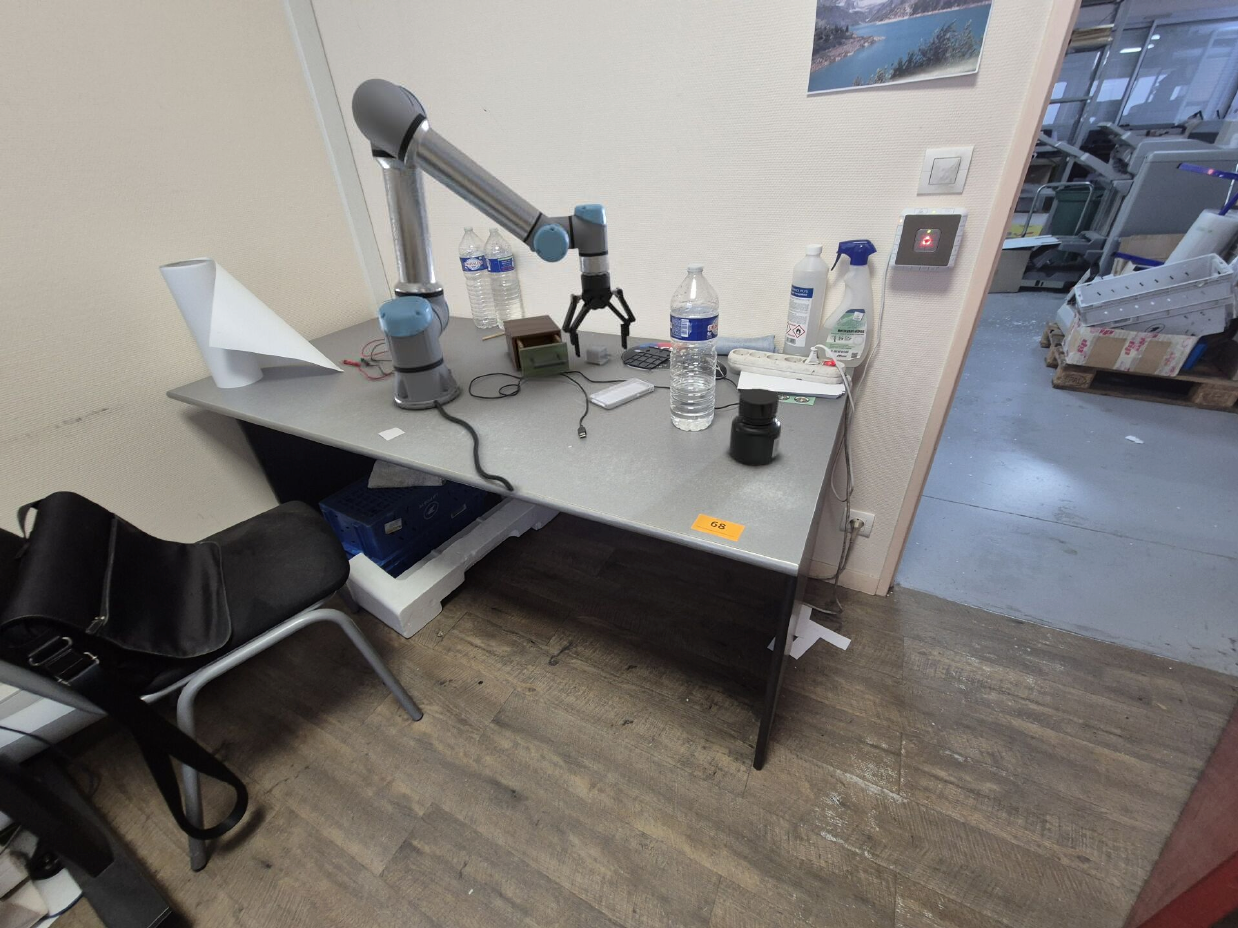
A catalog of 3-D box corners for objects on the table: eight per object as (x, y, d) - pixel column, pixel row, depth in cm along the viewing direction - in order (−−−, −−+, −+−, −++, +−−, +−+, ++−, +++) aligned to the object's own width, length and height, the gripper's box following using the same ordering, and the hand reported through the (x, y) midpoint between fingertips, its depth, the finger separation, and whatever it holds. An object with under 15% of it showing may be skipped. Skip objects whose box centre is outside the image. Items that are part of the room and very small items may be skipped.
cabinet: (564, 363, 142) (560, 329, 137) (516, 370, 139) (511, 336, 134) (552, 345, 156) (548, 314, 151) (508, 352, 153) (503, 321, 147)
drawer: (576, 379, 129) (573, 350, 125) (528, 388, 126) (523, 358, 122) (557, 353, 147) (554, 327, 143) (515, 360, 144) (510, 333, 140)
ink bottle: (786, 463, 92) (795, 404, 86) (741, 470, 91) (747, 411, 85) (763, 438, 100) (769, 382, 94) (721, 445, 99) (725, 388, 93)
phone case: (634, 382, 128) (588, 400, 120) (634, 377, 127) (588, 395, 119) (654, 390, 123) (608, 410, 115) (654, 385, 122) (608, 404, 114)
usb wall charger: (594, 358, 144) (593, 344, 142) (615, 361, 141) (614, 348, 139) (587, 363, 142) (586, 349, 139) (608, 366, 138) (607, 352, 136)
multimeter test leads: (412, 330, 162) (442, 347, 145) (416, 343, 165) (446, 362, 148) (335, 347, 150) (358, 369, 133) (340, 362, 153) (363, 385, 136)
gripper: (635, 263, 135) (638, 341, 146) (544, 275, 129) (555, 355, 140) (645, 268, 129) (648, 348, 140) (550, 281, 123) (561, 363, 134)
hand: (601, 352), depth 140 cm, fingers open, 13 cm apart
